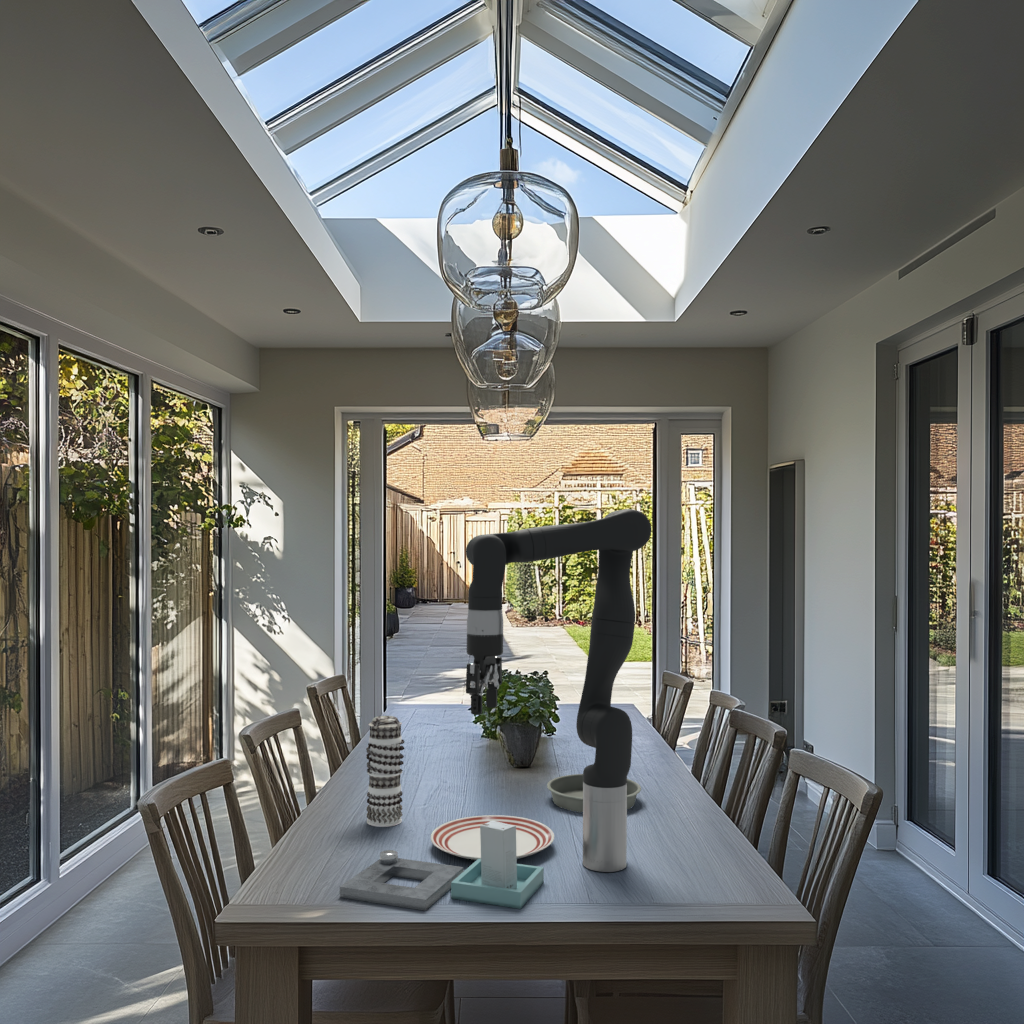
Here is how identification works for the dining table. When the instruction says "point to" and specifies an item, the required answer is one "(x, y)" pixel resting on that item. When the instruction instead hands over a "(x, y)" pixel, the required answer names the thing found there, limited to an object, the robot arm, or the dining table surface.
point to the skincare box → (498, 855)
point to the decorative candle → (384, 772)
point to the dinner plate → (466, 840)
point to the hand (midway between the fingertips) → (484, 710)
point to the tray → (474, 891)
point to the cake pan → (581, 792)
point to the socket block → (421, 897)
